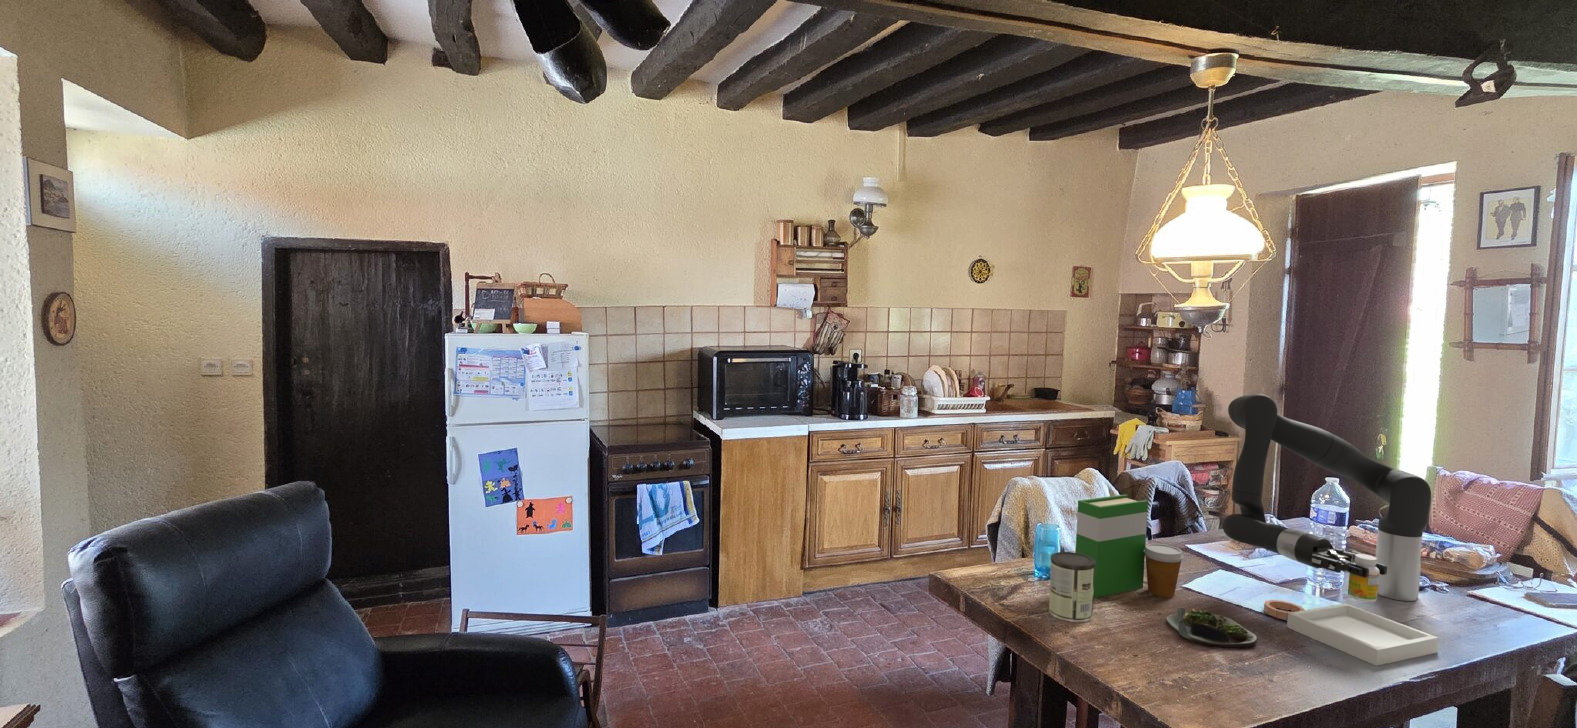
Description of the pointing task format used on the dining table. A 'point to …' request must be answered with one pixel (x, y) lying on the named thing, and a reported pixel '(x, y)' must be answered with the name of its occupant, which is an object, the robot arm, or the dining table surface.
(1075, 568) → the coffee can
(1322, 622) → the tray
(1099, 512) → the hardback book
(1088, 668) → the dining table surface
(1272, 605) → the cup holder
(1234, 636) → the salad plate
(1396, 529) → the robot arm
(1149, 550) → the disposable coffee cup
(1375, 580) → the supplement bottle
